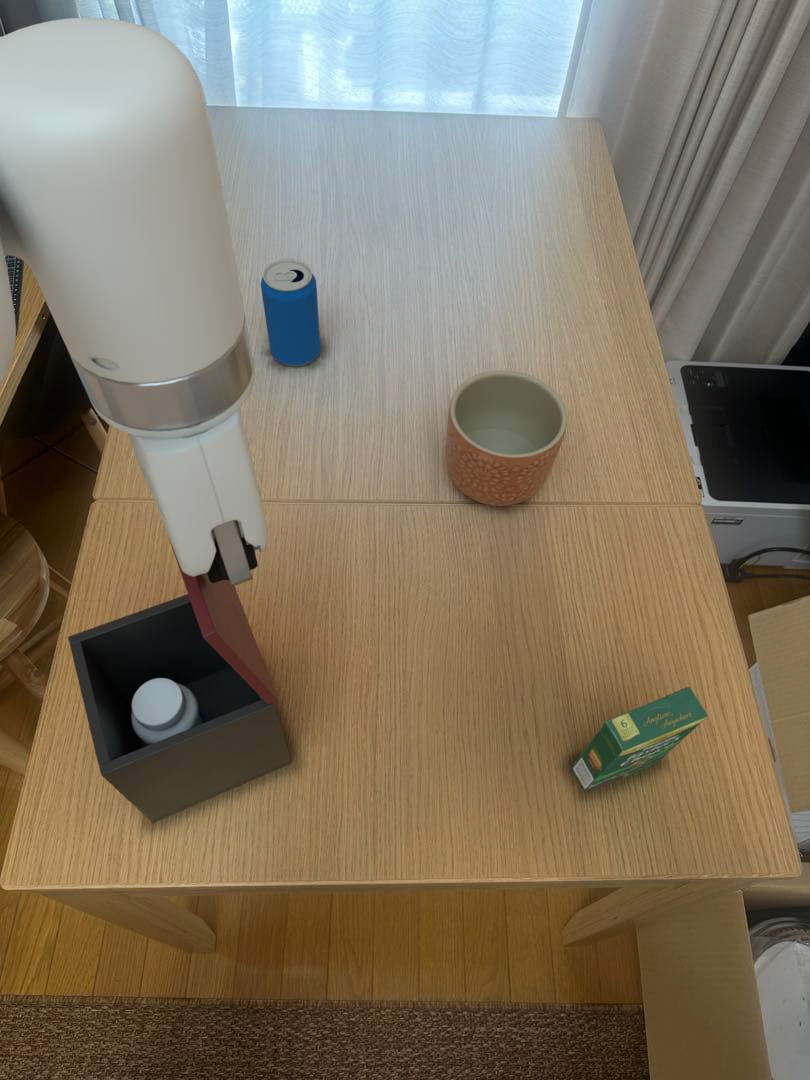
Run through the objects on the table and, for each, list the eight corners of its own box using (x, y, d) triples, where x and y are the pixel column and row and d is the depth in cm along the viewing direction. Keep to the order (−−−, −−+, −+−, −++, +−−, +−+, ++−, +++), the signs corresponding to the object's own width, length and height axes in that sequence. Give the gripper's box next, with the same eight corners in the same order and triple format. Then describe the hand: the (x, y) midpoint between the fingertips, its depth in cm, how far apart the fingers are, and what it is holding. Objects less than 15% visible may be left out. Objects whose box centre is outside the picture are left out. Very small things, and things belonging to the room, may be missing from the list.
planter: (419, 482, 85) (425, 417, 76) (479, 420, 91) (491, 352, 81) (509, 539, 81) (527, 478, 72) (566, 470, 87) (590, 405, 78)
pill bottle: (161, 706, 69) (133, 664, 60) (219, 714, 68) (198, 672, 60) (143, 765, 66) (111, 728, 57) (203, 773, 65) (179, 737, 57)
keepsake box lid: (202, 637, 42) (215, 631, 42) (151, 488, 48) (163, 483, 48) (268, 705, 54) (278, 700, 54) (221, 579, 60) (230, 575, 60)
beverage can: (323, 368, 94) (318, 290, 84) (272, 372, 94) (261, 294, 84) (318, 333, 98) (312, 254, 88) (269, 337, 97) (257, 258, 87)
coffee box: (581, 797, 66) (623, 752, 55) (566, 767, 68) (604, 717, 57) (658, 765, 68) (713, 716, 57) (642, 737, 70) (693, 683, 59)
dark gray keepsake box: (153, 823, 64) (100, 775, 51) (121, 705, 69) (67, 636, 57) (291, 763, 67) (274, 705, 55) (251, 655, 73) (226, 579, 60)
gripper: (48, 274, 36) (145, 499, 51) (120, 506, 28) (208, 687, 44) (200, 239, 38) (250, 466, 53) (304, 448, 30) (326, 640, 46)
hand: (231, 565), depth 48 cm, fingers closed
